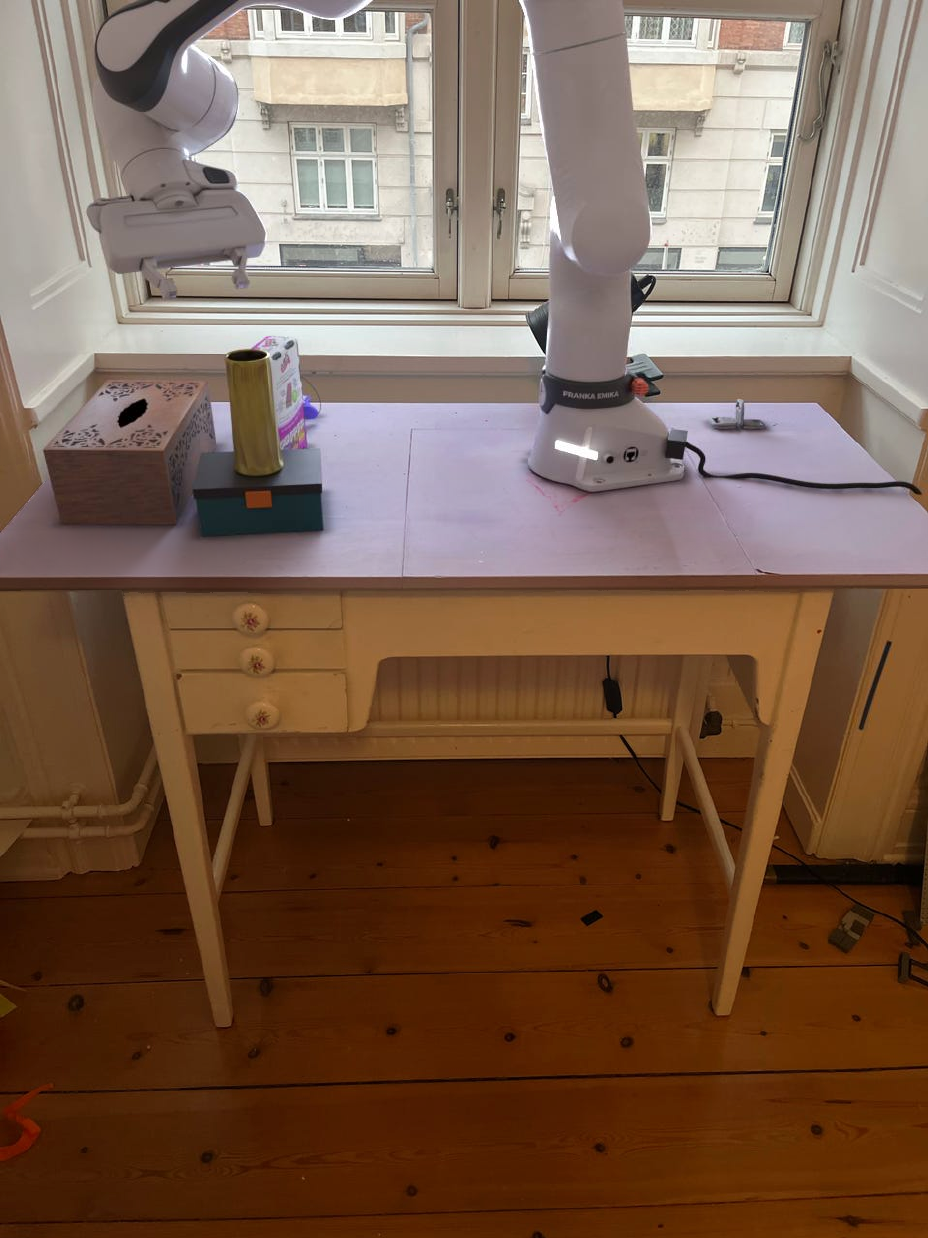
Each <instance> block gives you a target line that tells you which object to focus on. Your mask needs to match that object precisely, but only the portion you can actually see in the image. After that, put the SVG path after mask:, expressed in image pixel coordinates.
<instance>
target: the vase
mask: <svg viewBox="0 0 928 1238" xmlns="http://www.w3.org/2000/svg"><path fill="white" fill-rule="evenodd" d="M224 363H225V368H226V369H225V371H226V373H225V374H226V381H227V388H228V399H229V409H230V420H231V421H230V422H231V437H232V446H233V452H234V469H235V470H236V471H237V472H238V473H240V474H242V475H245V476H253V477H258V476H266V475H271V474H274V473H276V472H278V471H280V470H281V469H282V467H283V460H282V454H281V446H280V439H279V433H278V426H277V420H276V413H275V404H274V396H273V384H272V372H271V362H270V356H269V353H268V352H266V351H263V350H257V349H251V348H243V349H241V348H240V349H236V350H232V351H229V352H227V353H226V354H225V355H224Z"/></svg>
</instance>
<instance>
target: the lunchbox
mask: <svg viewBox="0 0 928 1238" xmlns="http://www.w3.org/2000/svg"><path fill="white" fill-rule="evenodd" d="M321 452H322V451H321V448H320V447H313V448H311V447H310V448H304V449H284V450H281V454H282V460H283V467H282V469H281V470H280V471H278V472H276V473H274V474H271V475H266V476H258V477H253V476H245V475H242V474H240V473H238V472H237V471H236V470H235V469H234V451H214V452H208V453H201V455H200V460H199V464H198V468H197V472H196V477H195V481H194V485H193V489H192V490H193V493H192V496H193V500H195V503H196V509H197V517H198V521H199V528H200V534H201V537H216V536H236V535H237V536H238V535H254V534H255V535H256V534H257V535H258V534H273V533H275V534H276V533H294V532H313V531H316V532H317V531H324V512H323V511H324V510H323V476H322V475H323V474H322V453H321Z"/></svg>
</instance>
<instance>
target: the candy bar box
mask: <svg viewBox="0 0 928 1238" xmlns="http://www.w3.org/2000/svg"><path fill="white" fill-rule="evenodd" d="M250 349H257V350H263V351H266V352H268V353H269V356H270V362H271V372H272V384H273V396H274V404H275V413H276V420H277V426H278V433H279V439H280V446H281V450H284V449H306V447H308V438H307V437H308V436H307V426H306V419H305V416H304V406H303V395H302V394H303V385H302V378H301V377H302V376H301V366H300V354H299V345H298V338H297V337H289V336H286V337H285V336H276V335H266V336H265V337H264V338H263V339H261V340H259V342H257V343H256V344H255V345H253V346H252V347H251V348H250Z"/></svg>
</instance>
